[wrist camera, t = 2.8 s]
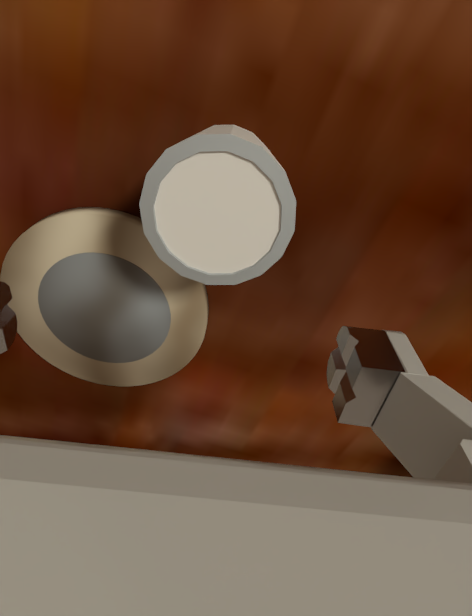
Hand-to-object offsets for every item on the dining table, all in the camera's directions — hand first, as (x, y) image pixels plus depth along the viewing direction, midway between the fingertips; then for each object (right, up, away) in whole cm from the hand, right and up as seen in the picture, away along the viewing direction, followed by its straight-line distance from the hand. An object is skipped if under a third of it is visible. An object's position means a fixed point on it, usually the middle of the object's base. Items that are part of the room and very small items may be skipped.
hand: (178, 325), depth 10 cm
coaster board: (-8, +1, +18) cm, 20 cm away
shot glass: (+1, +8, +13) cm, 16 cm away
